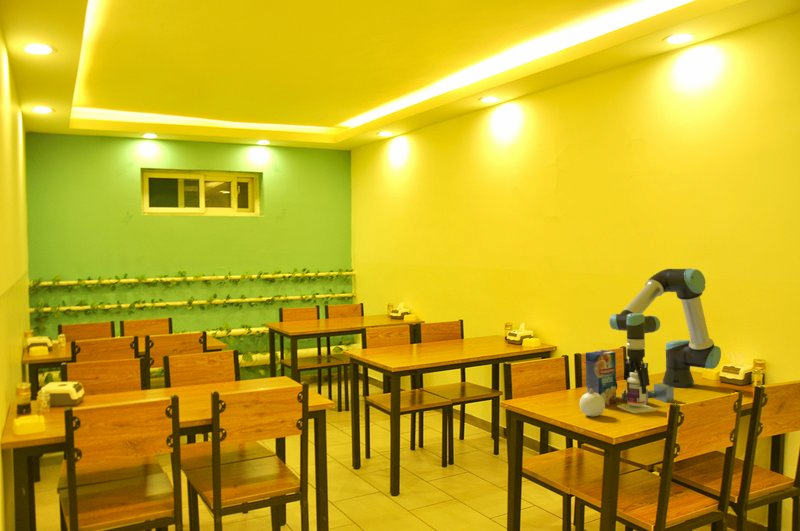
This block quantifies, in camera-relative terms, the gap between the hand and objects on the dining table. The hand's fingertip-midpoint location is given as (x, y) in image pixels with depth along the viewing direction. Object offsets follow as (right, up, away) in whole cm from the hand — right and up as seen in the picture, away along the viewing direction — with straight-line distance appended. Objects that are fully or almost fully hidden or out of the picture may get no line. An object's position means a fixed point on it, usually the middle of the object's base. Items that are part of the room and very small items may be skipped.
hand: (636, 398), depth 288 cm
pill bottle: (0, -3, 0) cm, 3 cm away
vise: (+9, -4, +16) cm, 18 cm away
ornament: (-23, -6, -10) cm, 26 cm away
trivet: (0, -5, 0) cm, 5 cm away
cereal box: (-12, -5, +11) cm, 17 cm away
